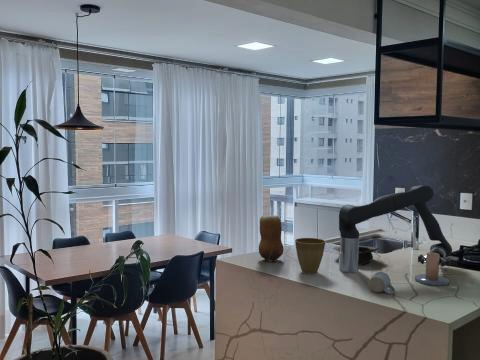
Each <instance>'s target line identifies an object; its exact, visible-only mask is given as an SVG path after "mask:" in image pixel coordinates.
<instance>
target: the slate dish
mask: <svg viewBox="0 0 480 360" xmlns="http://www.w3.org/2000/svg"><path fill="white" fill-rule="evenodd" d="M425 276H426V273H423V274H422V273H421V274H417V275H414V281H415V282H417V283H418V282H419V284H421V285H426V286H429V287H430V286H431V287H444V286H445V287H446V286H448V285H449V284H450V280H449V278H447V277H444V276H441V275H438V280H428V279H426V278H425Z"/></svg>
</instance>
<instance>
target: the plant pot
mask: <svg viewBox="0 0 480 360" xmlns="http://www.w3.org/2000/svg"><path fill="white" fill-rule="evenodd" d="M294 242H295V243H294V244H295V251H296V256H297V260H298V263H299V267H300V269H301V272H302V273H303V274H306V275H307V274H308V275H315V274H317V273H318V271H319V268H320V265H321V263H322V259H323V256H324V251H325V247H326V240H324V239H322V238H321V239H320V238H314V237H299V238H296V239H295V240H294Z"/></svg>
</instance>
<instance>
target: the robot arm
mask: <svg viewBox="0 0 480 360" xmlns="http://www.w3.org/2000/svg"><path fill="white" fill-rule="evenodd" d="M434 195H435V194H434V189H433V188H432V187H431V186H429V185H426V184H422V185H414V186H412V187H410V189H409V190H408V191H402V192H394V193H390V194H386V195H382V196H379V197H377V198H375V199H374V200H373V201H372V202H370V203H368V204H364V205H356V206H355V205H353V204H345V205H342V206H341V208H339V209H340V210H339V213H338V231H339V234H340V237H339V238H340V239H339V241H340V242H339V247H340V250H339V251H338V270H339V272H343V273H357V272H358V271H359V265H358V253H359V246H360V232H359V230H358V229H357V226H356V225H358V224H361V223H363V222H365V221H368V220H370V219H373V218H376V217H380V216H383V215H387V214H391V213H394V212H397V211H399V210H403V209H405V208H408V207H410V206H414V207H415V209H416V211H417V213H418V215H419V217H420V219H421V222H422V224H424V225H423V226H424V228H425V231H426V234H427V236H428V239H429V240H430V241H439V242H438V243H434V244H431V246H430V247H429V250H430V251H429V252H434V253H438V254H440V255H439V266H440V267H441V268H443V267H445V266H447V267H450V266H451V258H450V257H447V256H450V255H452V253H453V248H452V246H451V244H450V242H449V241H448V240H447V239H446V237H445V236H444V233H443V231H442V228H441V226H440V222H438V220H437V218H436V217H435V216H434V214H432V212H431V210H430V209H429V207H428V206H427V203H428V202H430V201H432V199H433V198H434ZM426 257H427V255H425V256H424V255H423V254H419V255H418V256H417V262H418V263H420V264H421V265H425V264H426ZM446 257H447V258H446Z"/></svg>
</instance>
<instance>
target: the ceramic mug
mask: <svg viewBox="0 0 480 360" xmlns="http://www.w3.org/2000/svg"><path fill="white" fill-rule="evenodd" d="M391 283H392V282H391V278H390V275H388V274H387V273H385V272H383V271H378V272H376V273H375V274H374V275H372V277H371V278H370V279H369V282H368V286H369V288H370V290H371V292H374V293H382V292H385V293H386V294H390V295H394V293H396V289H395V287H394V286H393V285H392V284H391Z"/></svg>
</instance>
